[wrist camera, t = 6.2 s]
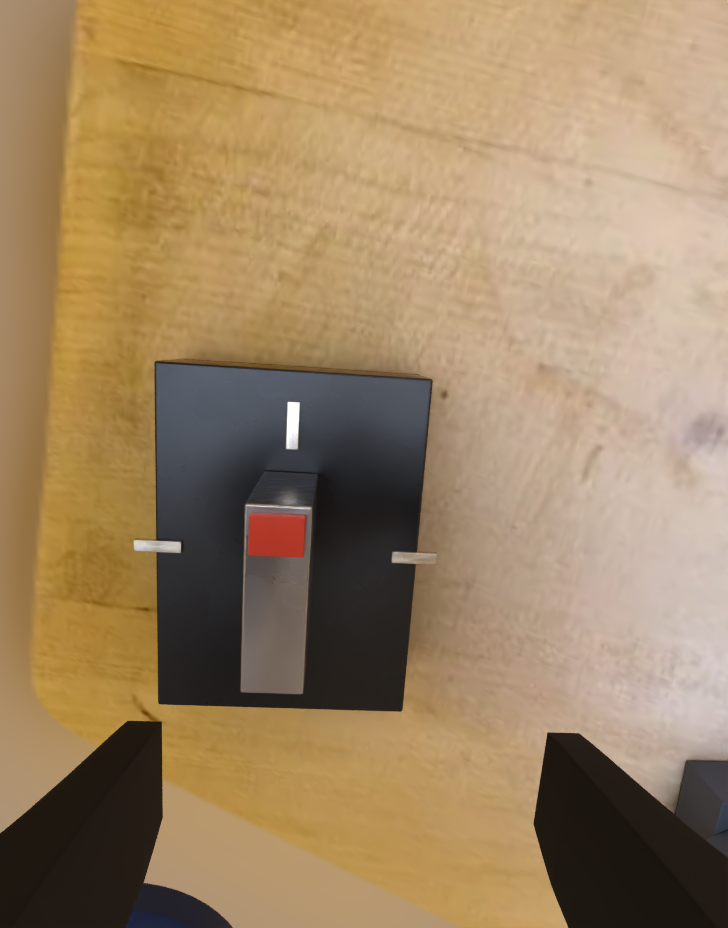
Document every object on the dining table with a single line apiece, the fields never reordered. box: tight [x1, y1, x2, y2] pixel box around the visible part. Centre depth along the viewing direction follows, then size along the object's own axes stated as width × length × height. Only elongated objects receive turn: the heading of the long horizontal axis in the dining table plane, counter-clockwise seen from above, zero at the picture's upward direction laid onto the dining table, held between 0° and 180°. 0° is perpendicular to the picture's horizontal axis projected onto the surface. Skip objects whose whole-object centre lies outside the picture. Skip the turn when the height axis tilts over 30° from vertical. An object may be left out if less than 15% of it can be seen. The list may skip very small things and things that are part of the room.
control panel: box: [134, 359, 437, 711], centre depth 18 cm, size 9×11×3 cm
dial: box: [240, 471, 318, 694], centre depth 15 cm, size 5×2×4 cm, turn 176°
